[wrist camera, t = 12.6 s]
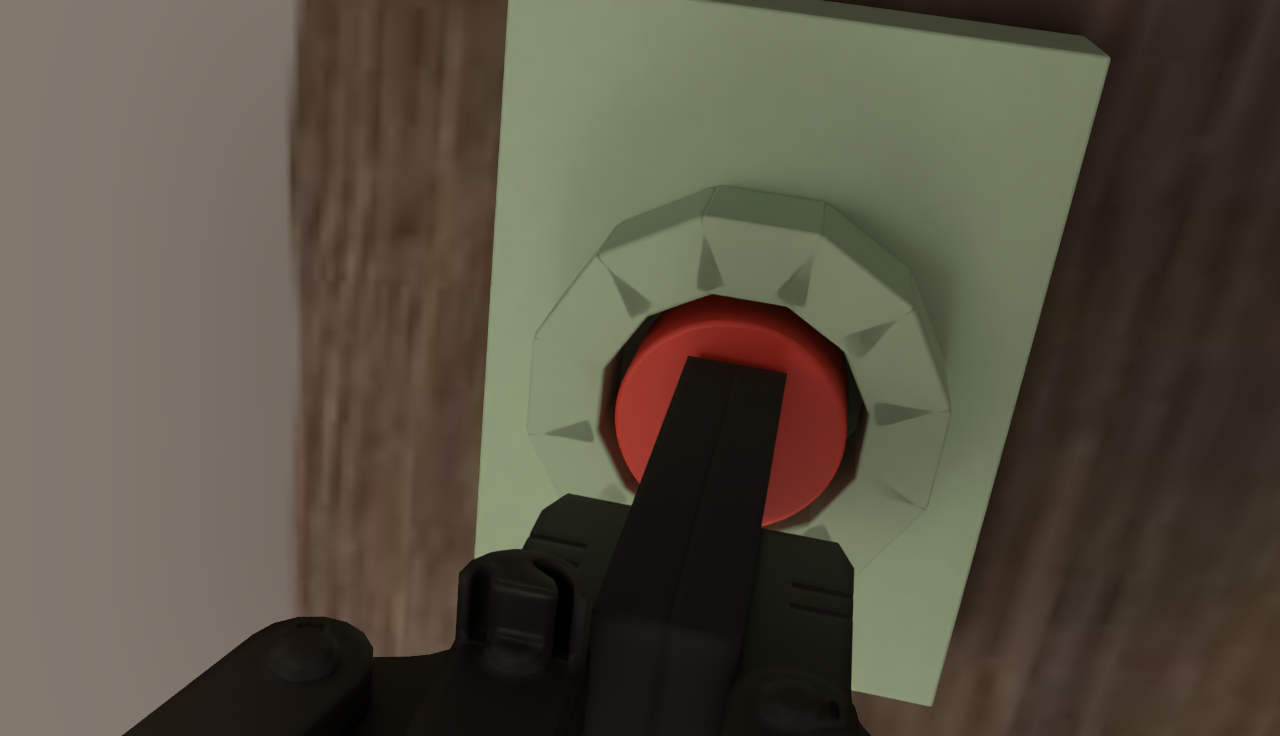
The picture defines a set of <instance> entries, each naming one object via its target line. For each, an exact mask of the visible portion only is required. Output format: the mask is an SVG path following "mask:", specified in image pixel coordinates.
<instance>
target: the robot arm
mask: <svg viewBox="0 0 1280 736" xmlns="http://www.w3.org/2000/svg"><path fill="white" fill-rule="evenodd" d="M786 377H787V373H784V372H778V371H772V370H767V369H761V368H755V367H750V366H744V365H738V364H733V363H727V362H721V361H716V360H710V359H704V358H699V357H693V356H688V357H687V360H686V362H685V365H684V368H683V370H682V373H681V376H680V378H679V381H678V384H677V386H676V389H675V392H674V394H673V397H672V399H671V402H670V405H669V407H668V410H667V413H666V415H665V418H664V421H663V423H662V426H661V429H660V431H659V434H658V436H657V439H656V442H655V444H654V447H653V450H652V452H651V455H650V458H649V460H648V463H647V466H646V468H645V471H644V473H643V476H642V479H641V481H640V484H639V487H638V489H637V492H636V495H635V497H634V500H633V503H632V505H626V504H621V503H616V502H611V501H606V500H600V499H595V498H590V497H585V496H580V495H575V494H570V493H567V494H566V495H564V496H563V497H561V498H559V499H558V500H556V501H555V502H553V503H552V504H550V505H549V506H547V507H546V508H544V509H543V510H542V511H541V513H540V515H539V517H538V519H537V521H536V523H535V524H534V526H533V528H532V530H531V532H530V537H528V538H527V540H526V542H525V544H524V546H523V548H522V549H509V550H501V551H494V552H490V553H488V554H485V555H483V556H481V557H478V558H476V559H474V560H472V561H471V562H470V563H469V564H468V565H467V566H466V567H465V568H464V569H463V570H462V571H461V572H460V573H459V584H458V602H457V620H456V638H455V641H454V643H453V645H452V647H451V648H450V649H449V650H445V651H442V652H438V653H434V654H430V655H421V656H410V657H373V647H372V645H371V644H370V642H369V640H368V639H367V637H366V635H365V634H364V633H363V632H362V631H360V630H358V629H357V628H355V627H354V626H352V625H350V624H349V623H347V622H344V621H340V620H336V619H331V618H327V617H296V618H292V619H288V620H285V621H280V622H276V623H273V624H271V625H270V626H268V627H266V628H264V629H262V630H260V631H259V632H257V633H255V634H253V635H252V636H250V637H249V638H248V639H247V640H245V641H244V642H243V643H241V644H240V645H239V646H237V647H236V648H235V649H234V650H232V651H231V652H230V653H228V654H227V655H226V656H224V657H223V658H222V659H221V660H219V661H218V662H217V663H216V664H214V665H213V666H211V667H210V668H209V669H208V670H206V671H205V672H204V673H203V674H201V675H200V676H199V677H197V678H196V679H195V680H193V681H192V682H191V683H189V684H188V685H187V686H186V687H184V688H183V689H182V690H180V691H179V692H178V693H177V694H175V695H174V696H173V697H171V698H170V699H169V700H167V701H166V702H165V703H164V704H162V705H161V706H160V707H158V708H157V709H156V710H155V711H153V712H152V713H151V714H149V715H148V716H147V717H146V718H144V719H143V720H142V721H140V722H139V723H138V724H137V725H135V726H134V727H133V728H131V729H130V730H129V731H127V732H126V733H125V734H124V735H122V736H871V735H870V734H869V733H868V732H867V731H866V730H865V728H864V727H863V726H862V725H861V724H860V722H859V720H858V717H857V713H856V709H855V706H854V705H853V704H852V698H851V681H852V641H853V620H852V619H853V601H854V599H853V595H854V567H853V566H852V564H851V562H850V561H849V559H848V557H847V556H846V554H845V553H844V551H843V549H842V548H841V546H840V545H839V543H837V542H832V541H826V540H821V539H816V538H811V537H806V536H801V535H795V534H790V533H785V532H780V531H775V530H770V529H765V528H761V526H762V520H763V514H764V508H765V503H766V497H767V491H768V485H769V479H770V473H771V467H772V461H773V455H774V449H775V443H776V437H777V431H778V425H779V419H780V413H781V407H782V401H783V395H784V389H785V383H786Z"/></svg>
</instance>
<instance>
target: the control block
mask: <svg viewBox="0 0 1280 736" xmlns="http://www.w3.org/2000/svg"><path fill="white" fill-rule="evenodd" d="M1110 61H1111V60H1110V57H1109V56H1108V55H1107V54H1106V53H1105V52H1103V51H1102V50H1101V49H1100V48H1098V47H1097V46H1096V45H1095V44H1093V43H1092V42H1091V41H1090V40H1088V39H1087V38H1086V37H1084V36H1079V35H1072V34H1065V33H1057V32H1050V31H1043V30H1035V29H1028V28H1021V27H1014V26H1006V25H999V24H992V23H984V22H977V21H970V20H962V19H955V18H948V17H941V16H933V15H926V14H919V13H911V12H904V11H897V10H890V9H882V8H875V7H868V6H860V5H853V4H846V3H839V2H831V1H824V0H508V13H507V29H506V46H505V62H504V78H503V95H502V111H501V128H500V144H499V161H498V177H497V194H496V210H495V227H494V243H493V260H492V276H491V293H490V309H489V326H488V342H487V358H486V375H485V391H484V408H483V424H482V441H481V457H480V474H479V490H478V507H477V523H476V540H475V556H474V559H476V558H478V557H481V556H483V555H485V554H488V553H490V552H494V551H501V550H509V549H522V548H523V546H524V544H525V542H526V540H527V538H528V537H530V532H531V530H532V528H533V526H534V524H535V523H536V521H537V519H538V517H539V515H540V513H541V511H542V510H543V509H544V508H546V507H547V506H549V505H550V504H552V503H553V502H555V501H556V500H558V499H559V498H561V497H563V496H564V495H566V494H567V493H570V494H575V495H580V496H585V497H590V498H595V499H600V500H606V501H611V502H616V503H621V504H626V505H632V503H633V500H634V497H635V495H636V492H637V489H638V487H639V482H638V481H637V480H636V478H635V477H634V475H633V474H632V473H631V471H630V469H629V467H628V465H627V464H626V462H625V460H624V457H623V455H622V452H621V450H620V447H619V443H618V439H617V435H616V427H615V406H616V401H617V395H618V392H619V389H620V386H621V383H622V380H623V378H624V376H625V374H626V372H627V370H628V368H629V366H630V364H631V362H632V360H633V358H634V356H635V353H636V351H637V349H638V347H639V345H640V343H641V341H642V339H643V337H644V335H645V334H646V332H647V330H648V329H649V327H650V326H651V325H652V323H653V322H654V321H655V320H656V318H657V317H658V316H659V315H660V314H661V313H662V312H663V311H665V310H667V309H670V308H673V307H676V306H679V305H682V304H685V303H688V302H690V301H693V300H696V299H699V298H702V297H705V296H708V295H711V294H715V295H721V296H727V297H733V298H739V299H745V300H751V301H757V302H762V303H768V304H774V305H780V306H786V307H788V308H789V309H790V310H792V311H793V312H794V313H796V314H797V315H798V316H799V317H801V318H802V319H803V320H804V321H806V322H807V323H808V324H810V325H811V326H812V327H813V328H815V329H816V330H817V331H819V332H820V333H821V334H822V335H824V336H825V337H826V338H828V339H829V340H830V341H831V342H833V343H834V344H835V345H836V346H838V347H839V348H840V350H841V352H842V354H843V357H844V361H845V364H846V368H847V374H848V383H849V396H848V418H847V437H846V444H845V450H844V454H843V457H842V461H841V463H840V465H839V468H838V470H837V472H836V474H835V476H834V477H833V479H832V480H831V482H830V484H829V485H828V486H827V488H826V489H825V490H824V491H823V492H822V493H821V494H820V496H819V497H818V498H816V499H815V500H814V501H813V502H812V503H811V504H809V505H808V506H807V507H805V508H804V509H802V510H801V511H799V512H798V513H796V514H794V515H792V516H790V517H788V518H786V519H784V520H782V521H779V522H776V523H773V524H770V525H766V526H761V528H765V529H770V530H775V531H780V532H785V533H790V534H795V535H801V536H806V537H811V538H816V539H821V540H826V541H832V542H837V543H839V545H840V546H841V548H842V549H843V551H844V553H845V554H846V556H847V557H848V559H849V561H850V562H851V564H852V566H853V567H854V595H853V599H854V601H853V619H852V620H853V641H852V681H851V690H854V691H858V692H863V693H868V694H873V695H877V696H882V697H887V698H892V699H897V700H901V701H906V702H911V703H916V704H920V705H925V706H932V704H933V701H934V698H935V694H936V690H937V687H938V683H939V679H940V676H941V672H942V669H943V665H944V661H945V658H946V654H947V650H948V647H949V643H950V640H951V636H952V632H953V629H954V625H955V622H956V618H957V614H958V611H959V607H960V603H961V600H962V596H963V593H964V589H965V585H966V582H967V578H968V575H969V571H970V567H971V564H972V560H973V556H974V553H975V549H976V546H977V542H978V538H979V535H980V531H981V527H982V524H983V520H984V517H985V513H986V509H987V506H988V502H989V499H990V495H991V491H992V488H993V484H994V480H995V477H996V473H997V470H998V466H999V462H1000V459H1001V455H1002V451H1003V448H1004V444H1005V441H1006V437H1007V433H1008V430H1009V426H1010V423H1011V419H1012V415H1013V412H1014V408H1015V404H1016V401H1017V397H1018V394H1019V390H1020V386H1021V383H1022V379H1023V375H1024V372H1025V368H1026V365H1027V361H1028V357H1029V354H1030V350H1031V347H1032V343H1033V339H1034V336H1035V332H1036V328H1037V325H1038V321H1039V318H1040V314H1041V310H1042V307H1043V303H1044V299H1045V296H1046V292H1047V289H1048V285H1049V281H1050V278H1051V274H1052V271H1053V267H1054V263H1055V260H1056V256H1057V252H1058V249H1059V245H1060V242H1061V238H1062V234H1063V231H1064V227H1065V223H1066V220H1067V216H1068V213H1069V209H1070V205H1071V202H1072V198H1073V195H1074V191H1075V187H1076V184H1077V180H1078V176H1079V173H1080V169H1081V166H1082V162H1083V158H1084V155H1085V151H1086V147H1087V144H1088V140H1089V137H1090V133H1091V129H1092V126H1093V122H1094V119H1095V115H1096V111H1097V108H1098V104H1099V100H1100V97H1101V93H1102V90H1103V86H1104V82H1105V79H1106V75H1107V71H1108V68H1109V64H1110Z"/></svg>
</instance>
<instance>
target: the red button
mask: <svg viewBox="0 0 1280 736" xmlns="http://www.w3.org/2000/svg"><path fill="white" fill-rule="evenodd" d="M688 356H693V357H699V358H704V359H710V360H716V361H721V362H727V363H733V364H738V365H744V366H750V367H755V368H761V369H767V370H772V371H778V372H784V373H787V377H786V383H785V389H784V395H783V401H782V407H781V413H780V419H779V425H778V431H777V437H776V443H775V449H774V455H773V461H772V467H771V473H770V479H769V485H768V491H767V497H766V503H765V508H764V514H763V520H762V526H766V525H770V524H773V523H776V522H779V521H782V520H784V519H786V518H788V517H790V516H792V515H794V514H796V513H798V512H799V511H801V510H802V509H804V508H805V507H807V506H808V505H809V504H811V503H812V502H813V501H814V500H815V499H816V498H818V497H819V496H820V494H821V493H822V492H823V491H824V490H825V489H826V488H827V486H828V485H829V484H830V482H831V480H832V479H833V477H834V476H835V474H836V472H837V470H838V468H839V465H840V463H841V461H842V457H843V454H844V450H845V444H846V437H847V418H848V396H849V383H848V374H847V368H846V364H845V361H844V357H843V354H842V352H841V350H840V348H839V347H838V346H836V345H835V344H834V343H833V342H831V341H830V340H829V339H828V338H826V337H825V336H824V335H822V334H821V333H820V332H819V331H817V330H816V329H815V328H813V327H812V326H811V325H810V324H808V323H807V322H806V321H804V320H803V319H802V318H801V317H799V316H798V315H797V314H796V313H794V312H793V311H792V310H790V309H789V308H788V307H786V306H780V305H774V304H768V303H762V302H757V301H751V300H745V299H739V298H733V297H727V296H721V295H715V294H711V295H708V296H705V297H702V298H699V299H696V300H693V301H690V302H688V303H685V304H682V305H679V306H676V307H673V308H670V309H667V310H665V311H663V312H662V313H661V314H660V315H659V316H658V317H657V318H656V320H655V321H654V322H653V323H652V325H651V326H650V327H649V329H648V330H647V332H646V334H645V335H644V337H643V339H642V341H641V343H640V345H639V347H638V349H637V351H636V353H635V356H634V358H633V360H632V362H631V364H630V366H629V368H628V370H627V372H626V374H625V376H624V378H623V380H622V383H621V386H620V389H619V392H618V395H617V401H616V406H615V427H616V435H617V439H618V443H619V447H620V450H621V452H622V455H623V457H624V460H625V462H626V464H627V465H628V467H629V469H630V471H631V473H632V474H633V475H634V477H635V478H636V480H637V481H638V482H639V484H640V481H641V479H642V476H643V473H644V471H645V468H646V466H647V463H648V460H649V458H650V455H651V452H652V450H653V447H654V444H655V442H656V439H657V436H658V434H659V431H660V429H661V426H662V423H663V421H664V418H665V415H666V413H667V410H668V407H669V405H670V402H671V399H672V397H673V394H674V392H675V389H676V386H677V384H678V381H679V378H680V376H681V373H682V370H683V368H684V365H685V362H686V360H687V357H688Z"/></svg>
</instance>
